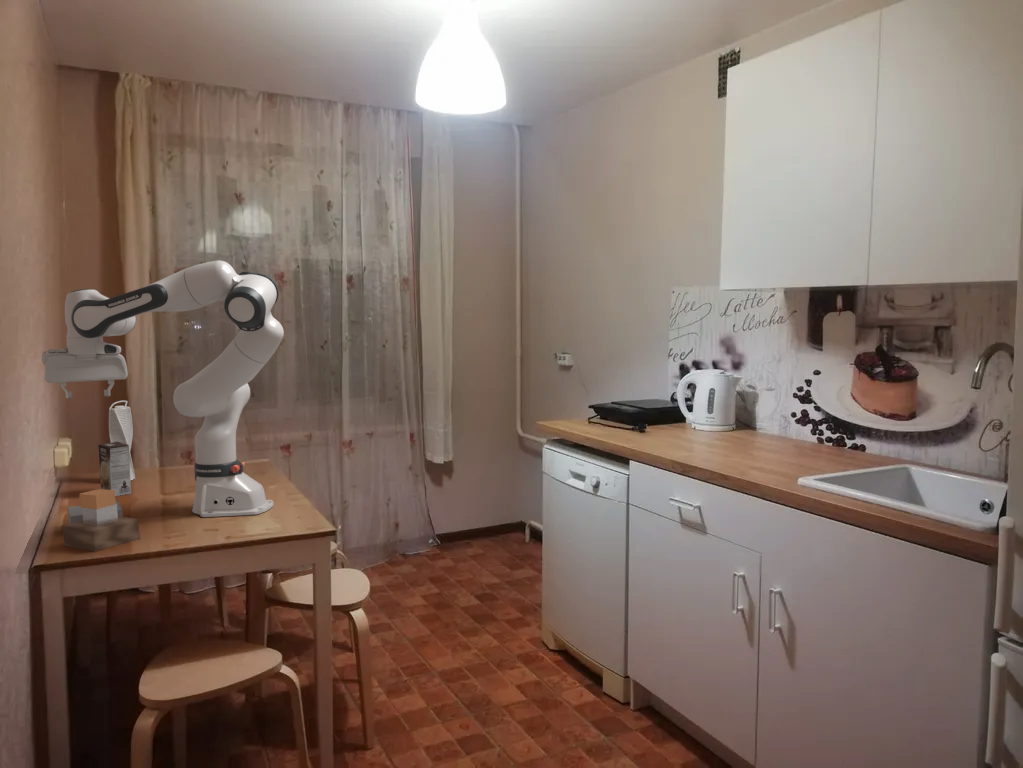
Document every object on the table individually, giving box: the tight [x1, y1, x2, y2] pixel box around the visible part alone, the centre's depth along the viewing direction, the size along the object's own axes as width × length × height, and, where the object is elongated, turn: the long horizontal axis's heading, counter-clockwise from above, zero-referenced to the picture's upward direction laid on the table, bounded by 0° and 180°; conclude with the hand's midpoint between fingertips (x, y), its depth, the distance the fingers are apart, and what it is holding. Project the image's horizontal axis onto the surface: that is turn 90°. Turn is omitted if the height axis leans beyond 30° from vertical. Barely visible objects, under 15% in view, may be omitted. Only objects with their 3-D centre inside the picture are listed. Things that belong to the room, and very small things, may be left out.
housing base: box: [82, 504, 118, 527], centre depth 189 cm, size 6×6×4 cm
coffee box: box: [97, 442, 132, 497], centre depth 242 cm, size 9×6×16 cm
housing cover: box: [79, 488, 117, 509], centre depth 188 cm, size 6×6×4 cm
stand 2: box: [62, 516, 140, 553], centre depth 189 cm, size 12×12×5 cm
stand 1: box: [67, 500, 124, 524], centre depth 204 cm, size 12×12×5 cm
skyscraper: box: [108, 400, 136, 481], centre depth 259 cm, size 8×8×28 cm
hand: (88, 397), depth 211 cm, fingers open, 8 cm apart
